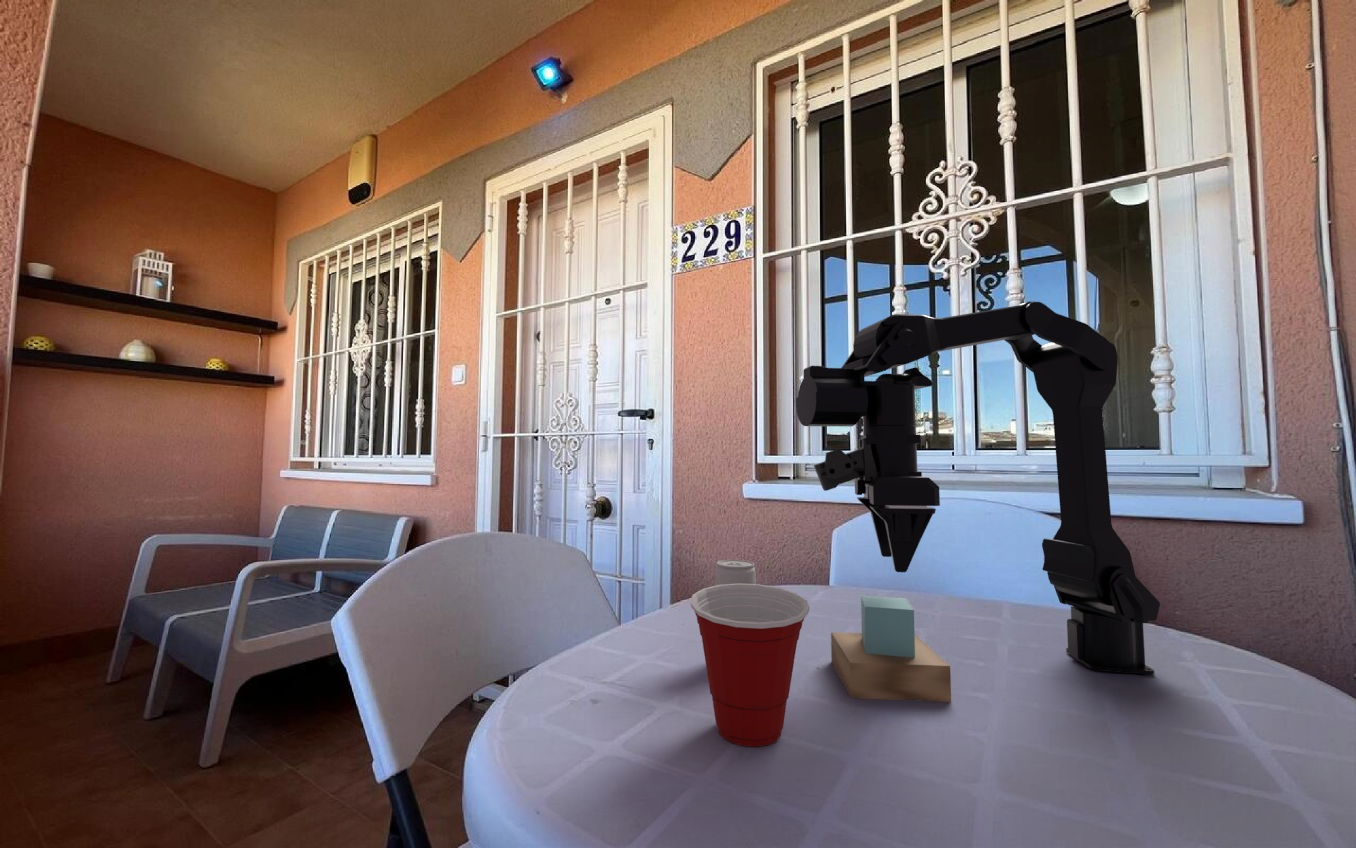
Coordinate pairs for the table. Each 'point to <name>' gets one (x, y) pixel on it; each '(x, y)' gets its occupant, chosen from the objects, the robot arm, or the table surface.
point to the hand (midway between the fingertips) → (893, 563)
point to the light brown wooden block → (890, 671)
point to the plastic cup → (749, 656)
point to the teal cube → (887, 626)
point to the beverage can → (735, 572)
